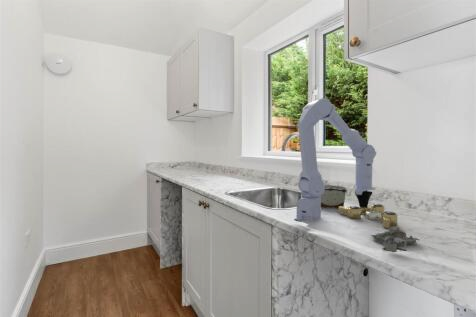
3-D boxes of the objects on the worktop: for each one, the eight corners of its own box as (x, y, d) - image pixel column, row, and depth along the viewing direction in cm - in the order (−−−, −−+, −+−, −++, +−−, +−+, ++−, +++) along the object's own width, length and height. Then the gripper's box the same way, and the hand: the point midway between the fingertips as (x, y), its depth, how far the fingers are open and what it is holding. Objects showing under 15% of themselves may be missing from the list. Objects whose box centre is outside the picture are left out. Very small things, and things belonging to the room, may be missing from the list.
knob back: (381, 213, 98) (381, 203, 97) (386, 216, 93) (386, 206, 93) (358, 212, 99) (358, 202, 98) (362, 215, 94) (362, 205, 94)
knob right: (383, 221, 88) (383, 210, 88) (398, 223, 85) (398, 212, 85) (377, 227, 81) (378, 215, 81) (393, 230, 79) (394, 217, 78)
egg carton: (399, 240, 74) (399, 226, 74) (422, 251, 67) (423, 235, 67) (367, 243, 72) (368, 229, 72) (388, 254, 65) (389, 238, 64)
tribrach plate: (408, 239, 74) (408, 226, 74) (327, 222, 90) (327, 212, 89) (417, 220, 92) (417, 210, 92) (349, 209, 108) (349, 201, 108)
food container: (344, 208, 110) (345, 185, 110) (346, 212, 104) (347, 188, 104) (315, 206, 114) (315, 184, 113) (315, 209, 108) (316, 186, 107)
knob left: (363, 218, 91) (363, 207, 91) (355, 220, 89) (355, 209, 89) (343, 212, 99) (343, 203, 98) (336, 214, 96) (336, 204, 96)
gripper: (370, 178, 89) (370, 216, 90) (379, 173, 100) (378, 207, 101) (349, 176, 93) (349, 212, 94) (360, 172, 105) (359, 204, 105)
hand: (363, 209), depth 98 cm, fingers closed, pressing on knob back
